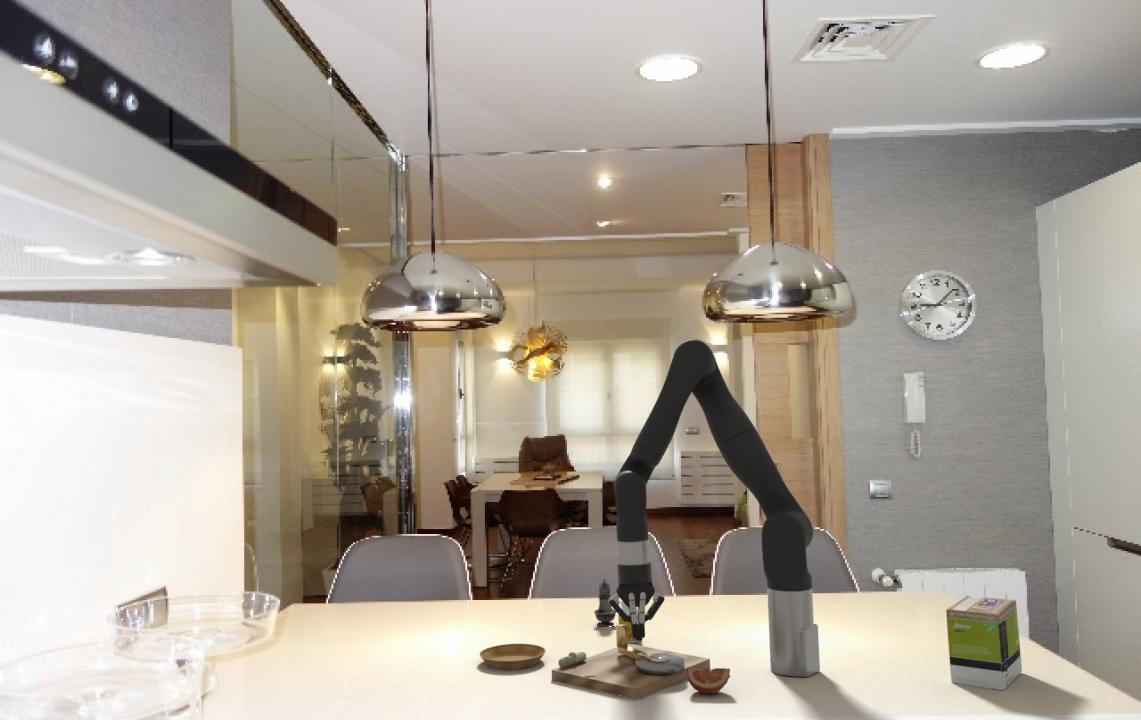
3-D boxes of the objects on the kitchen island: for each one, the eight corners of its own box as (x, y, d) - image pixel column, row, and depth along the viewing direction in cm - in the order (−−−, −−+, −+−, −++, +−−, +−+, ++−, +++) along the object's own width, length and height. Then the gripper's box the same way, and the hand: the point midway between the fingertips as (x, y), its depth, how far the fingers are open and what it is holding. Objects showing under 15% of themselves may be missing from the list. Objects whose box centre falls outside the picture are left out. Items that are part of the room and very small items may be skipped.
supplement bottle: (615, 642, 211) (614, 601, 212) (624, 637, 216) (623, 597, 217) (636, 644, 209) (634, 603, 209) (644, 639, 214) (643, 598, 214)
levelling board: (710, 668, 188) (709, 646, 188) (636, 699, 168) (635, 675, 168) (628, 652, 202) (627, 632, 202) (551, 679, 183) (551, 657, 183)
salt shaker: (617, 622, 232) (616, 576, 233) (616, 628, 226) (615, 580, 227) (595, 622, 232) (593, 576, 233) (593, 628, 226) (592, 580, 227)
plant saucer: (486, 676, 188) (485, 663, 188) (474, 658, 202) (474, 646, 202) (553, 669, 191) (552, 656, 192) (537, 652, 206) (537, 640, 206)
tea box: (970, 665, 185) (966, 593, 186) (1023, 673, 178) (1018, 599, 179) (949, 683, 173) (945, 607, 174) (1004, 692, 167) (999, 613, 168)
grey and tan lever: (694, 669, 179) (693, 639, 180) (654, 677, 174) (653, 647, 175) (637, 648, 197) (637, 621, 197) (600, 655, 192) (599, 628, 192)
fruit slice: (730, 688, 173) (729, 663, 174) (731, 699, 167) (730, 672, 167) (688, 687, 175) (687, 662, 175) (686, 698, 168) (685, 672, 169)
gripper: (660, 556, 199) (665, 634, 198) (602, 560, 199) (607, 638, 197) (666, 561, 192) (671, 642, 191) (606, 565, 191) (610, 646, 190)
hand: (638, 640), depth 194 cm, fingers closed
